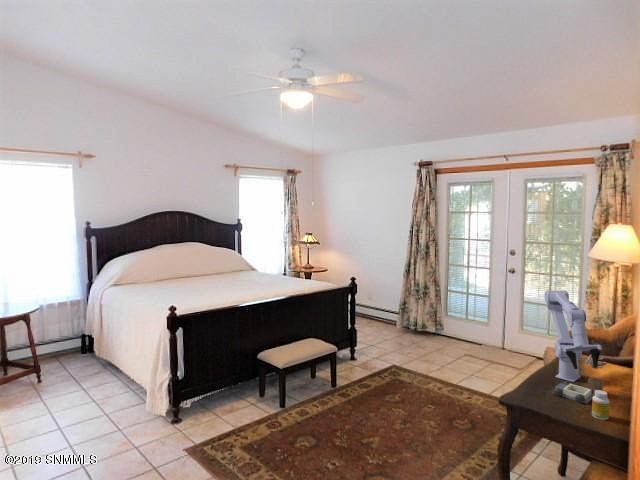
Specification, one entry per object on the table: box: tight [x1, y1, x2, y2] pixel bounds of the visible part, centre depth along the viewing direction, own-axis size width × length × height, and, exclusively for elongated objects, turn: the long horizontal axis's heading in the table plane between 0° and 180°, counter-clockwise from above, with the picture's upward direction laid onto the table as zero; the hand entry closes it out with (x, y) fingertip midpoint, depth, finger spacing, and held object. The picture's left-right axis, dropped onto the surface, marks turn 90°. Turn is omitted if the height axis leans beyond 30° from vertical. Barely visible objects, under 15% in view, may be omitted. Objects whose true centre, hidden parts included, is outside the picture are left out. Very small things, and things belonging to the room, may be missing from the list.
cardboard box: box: [587, 376, 604, 396], centre depth 181 cm, size 4×4×6 cm
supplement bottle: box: [591, 390, 610, 421], centre depth 160 cm, size 5×5×10 cm
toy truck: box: [552, 380, 595, 404], centre depth 179 cm, size 12×13×3 cm
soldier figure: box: [584, 354, 607, 369], centre depth 213 cm, size 8×5×12 cm
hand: (585, 368), depth 179 cm, fingers open, 7 cm apart
